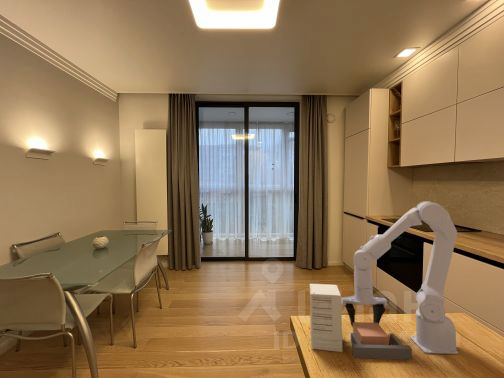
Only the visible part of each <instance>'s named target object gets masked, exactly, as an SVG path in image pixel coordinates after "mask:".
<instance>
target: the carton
mask: <svg viewBox="0 0 504 378" xmlns="http://www.w3.org/2000/svg"><path fill="white" fill-rule="evenodd" d="M352 333H354V334H355V335H356V337H357V339H358V340H359V342H360V344H365V345H390V335H388V334H387V333H386V331H385V330H384V329H383V327H382V326H381V325H380V323H379V324H378V323H374V322H367V321H366V322H358V321H355V322H353V327H352Z"/></svg>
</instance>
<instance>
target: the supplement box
mask: <svg viewBox="0 0 504 378" xmlns="http://www.w3.org/2000/svg"><path fill="white" fill-rule="evenodd" d="M341 297H342V295H341V292H340V289H339V286H338V285H337V284H327V283H326V284H323V283H309V304H310V306H309V307H310V309H309V310H310V311H309V313H310V314H309V317H310V324H309V325H310V329H309V330H310V347H311V349H312V350H320V351H329V352H339V353H343V323H342V322H343V321H342V319H343V318H342V317H343V316H342V303H341Z"/></svg>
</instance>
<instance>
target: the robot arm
mask: <svg viewBox="0 0 504 378" xmlns="http://www.w3.org/2000/svg"><path fill="white" fill-rule="evenodd" d="M422 221H423V222H424V223H425V224H427V225H428V226H429V228H430V229H431V230H432V231H433V233H434V234H435V236H434V239H433V244H432V248H431V251H430V256H429V260H428V264H427V269H426V273H425V277H424V281H423V283H422V284H421V287H420V289H419V290H418V291H417V292H416V293H415V297H414V299H415V302H416V303H417V307H418V308H417V309H416V310H415V332H416V333H415V335H410V336H409V339H411V340H412V341H413V343H415V345H417V347H419V349H420V350H422V352H423V353H424V354H440V355H442V354H443V355H444V354H445V355H446V354H447V355H448V354H449V355H451V354H452V355H458V354H459V351H457V331H456V326H455V324H454V322H453V320H452V319H451V318H450V317H448V316H446V310H445V306H444V304H445V303H444V302H445V291H444V290H445V286H446V282H447V277H448V274H449V269H450V265H451V261H452V258H453V257H452V256H453V254H454V248H455V244H456V241H457V237H458V231H457V229H456V226H455V224H454V223H453V220H452V219H451V216H450V212H449V211H447V210H446V209H445V208H444V207H443V206H442V205H440V204H439V203H436V202H432V201H428V200H424V201H421V202H419V203H418V204H417V205H416V206H415V207H412V208H411V209H409V210H408V211H407V212H406V213H404V214H403V215H402V216H401V217H400V218H398V219H397V221H396V222H395V223H394V224H392V225H391V227H389V228H388V229H387V230H385V232H384V233H383V234H375V236H374V235H371V236H370V237H369V241H367V242H366V243H365V244H364V245H361V246H360V247H359V249H358V250H356V251H355V253H354V255H353V258H352V262H353V265H354V266H353V270H354V271H353V280H354V281H353V282H354V283H353V285H354V288H353V289H354V295H351V296H344V297H342V296H341V306H344V307H345V310H346V311H347V314H348V317H349V321H350V325H351V327H352V328H353V322H356V320H355V318H356V317H355V316H356V309H355V305H356V306H357V305H359V306H361V305H362V306H372V313H373V314H372V315H373V316H372V317H373V318H372V319H373V320H372V323H378V324H379V325H380V322H381V319H382V317H383V316H384V313H385V312H386V307H387V306H388V300H387V299H386V298H385V297H376V296H374V289H373V284H374V283H373V272H372V266H373V261H377V260H379V259H380V258H381V257H382V256H383V255H384V254H385V253H387V252H388V251H389V250H390V249H391V248H392V245H391V243H392V242H393V241H394V240H395V239H397V238H398V237H399V236H400V235H401V234H403V233H404V232H405V231H407V230H408V229H410V228H411V227H413V226H415V227H416V226H421V225H423V223H422Z"/></svg>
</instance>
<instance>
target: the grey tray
mask: <svg viewBox="0 0 504 378" xmlns="http://www.w3.org/2000/svg"><path fill="white" fill-rule="evenodd" d="M350 343H351V345H352V346H351V347H352V353H351V354H352V356H353V358H354V359H379V360H380V359H381V360H382V359H385V360H387V359H388V360H413V349H412V347H411V346H410V345H408V344H407V345H405V344H403V343H402V342H401V341H400V339H399V338H398V337H397V336H396V335H395V333H389V345H365V344H360V342H359V340H358V339H357V337H356V335H355V334H354V333H353V332H350Z"/></svg>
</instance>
